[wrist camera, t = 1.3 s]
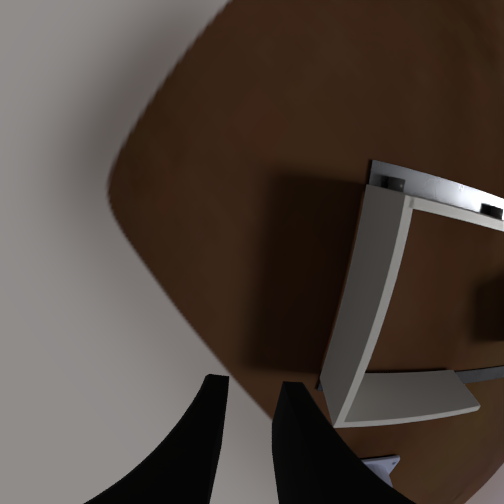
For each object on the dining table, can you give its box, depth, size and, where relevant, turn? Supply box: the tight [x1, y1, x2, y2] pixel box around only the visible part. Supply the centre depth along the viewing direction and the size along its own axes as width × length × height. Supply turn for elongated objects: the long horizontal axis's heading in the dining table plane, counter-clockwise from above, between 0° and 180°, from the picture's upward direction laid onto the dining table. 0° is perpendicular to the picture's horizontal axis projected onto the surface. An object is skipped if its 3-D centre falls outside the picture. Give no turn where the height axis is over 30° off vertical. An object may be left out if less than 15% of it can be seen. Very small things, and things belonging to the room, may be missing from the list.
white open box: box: [320, 176, 504, 428], centre depth 17 cm, size 15×12×5 cm
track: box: [317, 160, 504, 391], centre depth 20 cm, size 16×28×1 cm, turn 83°
